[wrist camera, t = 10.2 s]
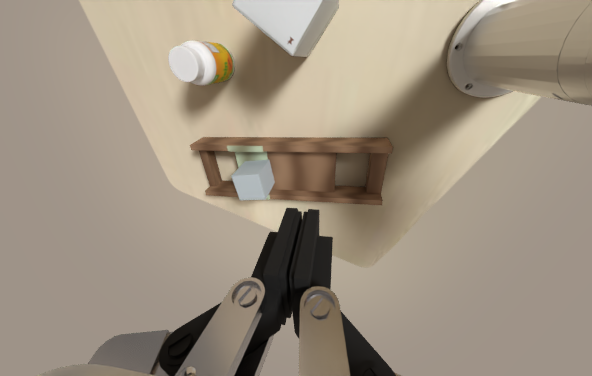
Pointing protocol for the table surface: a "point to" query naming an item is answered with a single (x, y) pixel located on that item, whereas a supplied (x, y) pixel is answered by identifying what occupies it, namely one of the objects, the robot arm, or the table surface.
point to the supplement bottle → (201, 62)
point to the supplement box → (290, 21)
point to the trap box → (299, 166)
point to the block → (253, 180)
